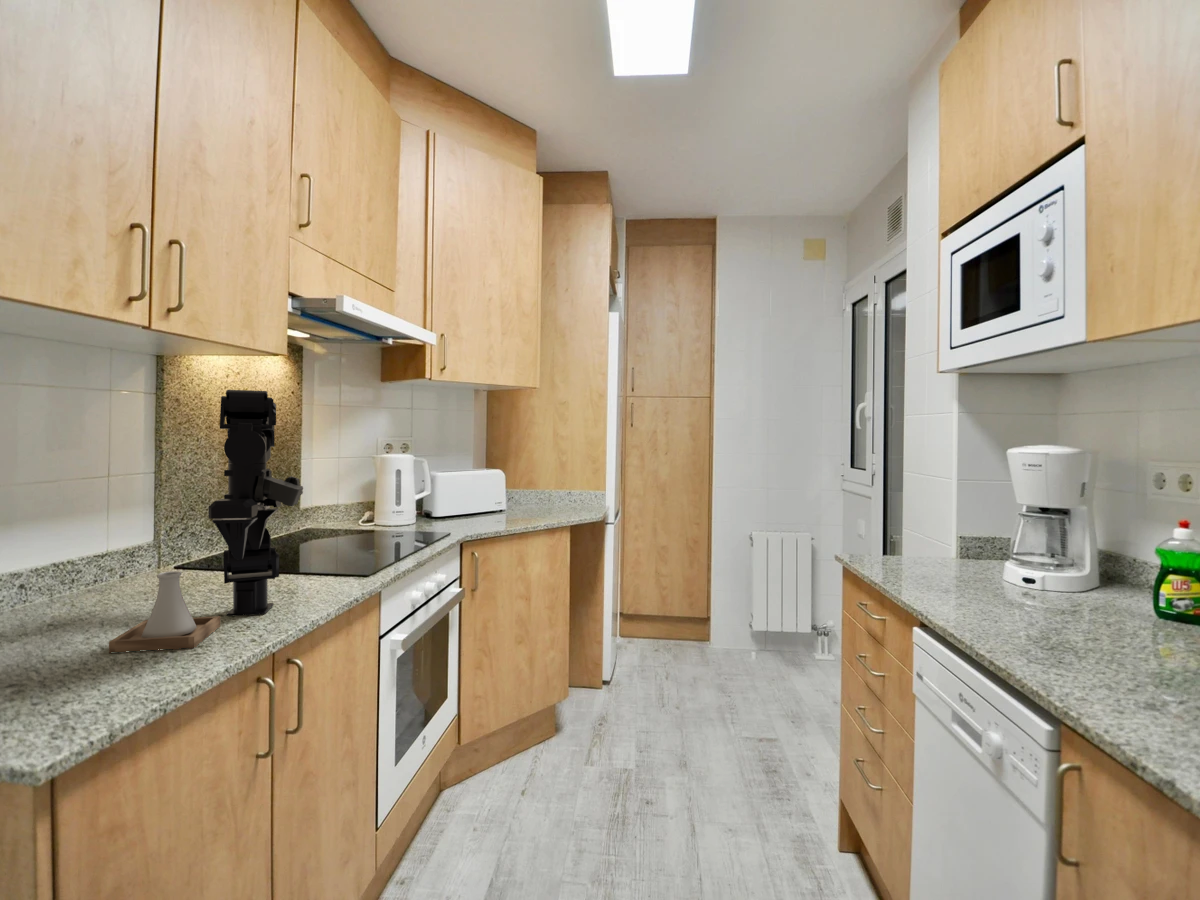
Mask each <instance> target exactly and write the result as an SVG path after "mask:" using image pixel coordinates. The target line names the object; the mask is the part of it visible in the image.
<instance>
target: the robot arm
mask: <svg viewBox="0 0 1200 900" xmlns="http://www.w3.org/2000/svg"><path fill="white" fill-rule="evenodd" d="M220 397H221V398H220V410H219V411H220V413H219V414H220V415H219V429H220V430H227V438H226V440H225V442H224V444H223V445H224V446H223V449H224V454H225V456H226V457H227V460H228V461H227V463H228V464H227V468H228V469H224V470H223V471H224V472H223V476H224V477H228V482H227V483H228V486H227V489H228V492H227V493H226V494H224V498H220V499H217V500H214V501H213V502H212V503H211V504H209V506H208V519H209V520H210V519H211V521H212V523H213V524H214V525H215V526H216V528H217V530H218V531H219V533H220V535H221V536H222V538H223V540H224V541H225V544H226V545H227V549H224V551H223V579H224V580H223V582H224V584H228V583H232V588H233V589H232V591H233V592H232V596H233V597H232V598H233V599H232V600H233V601H232V603H233V605H232V606H233V607H232V609H230V610H228V612H226V617H232V616H233V617H235V616H254V615H258V616H259V615H265V614H266V613H268V611H269V610H270V609H272V608H273V607H274V603H273V602H268V599H269V598H268V580H275V579H277V578H279V577H280V554H279V553H278V552H277V550H276V547H275V546H272V536H271V534H270V531H269V529H268V528H267V527H266V526H267V523H268V520H269V518H270V517H272V515H274V514H275V513H277V512H278V510H279V508H278V507H281V506H282V505H284V506H287V507H294V506H297V505H298V502H299V501H300V498H301V495H303V493H304V491H303V490H304V486H302V485H301V484H300V483H301V482H300V478H298V477H295V476H288V477H287V478H286V479H285V480H283V479H282V478H279V479H278V478H275V477H272V476H273V475H272V469H271V470H270V468H267V462H268V461H270V460H271V457H272V450H271V449H272V448H275V426H277V404H276V403H275V402H274V398H273V397H269V395H268V391H267V390H253V389H252V390H249V389H246V390H245V389H227V390H226V391H225V395H221V396H220ZM271 507H273V508H271Z"/></svg>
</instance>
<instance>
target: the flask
mask: <svg viewBox="0 0 1200 900" xmlns="http://www.w3.org/2000/svg"><path fill="white" fill-rule="evenodd" d="M182 573H183V572H182V571H176V570H175V571H164V572H160V573H158V574H156V578H157V579H158V591H157V595H156V599H155V601H154V605H153V607H152V609H151V613H150V615H149V617H148V619H147V620H148V622H147V624H146V626H145V629H144V631H143V634H142V636H141V637H143V638H157V637H174V636H182V635H185V634H188V633H192V632H193V631H194V630H195V629H196V628H197V626H196V624H195V622H194V620H193V618H194V617H193V616H192V613H191V612H190V609H189V607H188V606H187V603H186V601H185V598H184V597H183V596H184V595H183V594H182V590H181V586H180V585H181V584H180V577H181V575H182Z"/></svg>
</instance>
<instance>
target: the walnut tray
mask: <svg viewBox="0 0 1200 900" xmlns="http://www.w3.org/2000/svg"><path fill="white" fill-rule="evenodd" d="M192 618H193V620H194V622H195V624H196V626H197V628H196V629H195V630H194V631H193V632H192V633H188V634H185V635H182V636H174V637H157V638H143V637H141V636H142V634H143V631H144V629H145V626H146V624H147V622H148V619H144V620H142V622H139V623H138V624H136V625H134V626H133V627H131V628H129V629H127V630H126V631H124V632H123V633H121V634H119V635H118V636H117V637H114V638H113V639H111V640H110V641H108V654H112V653H111V652H125V653H127V652H126V651H140V650H157V651H161V650H160V649H173V650H182V649H181V648H189V649H195V648H197V647H198V646H199V645H200V644H201V643H203V642H204V641H205V640H206V639H207V638H209V637H210V636H211V635H212V634H213V633H214V632H216V631H217V630H218V629H219V628H221V625H222V624H221V616H219V615H218V616H216V615H215V616H202V617H201V616H200V617H192ZM217 628H218V629H217ZM216 629H217V630H216ZM215 630H216V631H215ZM212 632H213V633H212ZM211 633H212V634H211ZM210 634H211V635H210ZM209 635H210V636H209ZM206 637H207V638H206ZM205 638H206V639H205ZM204 639H205V640H204ZM203 640H204V641H203ZM200 642H201V643H200ZM199 643H200V644H199ZM198 644H199V645H198ZM197 645H198V646H197ZM194 647H195V648H194ZM179 648H180V649H179ZM158 649H159V650H158Z"/></svg>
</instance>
